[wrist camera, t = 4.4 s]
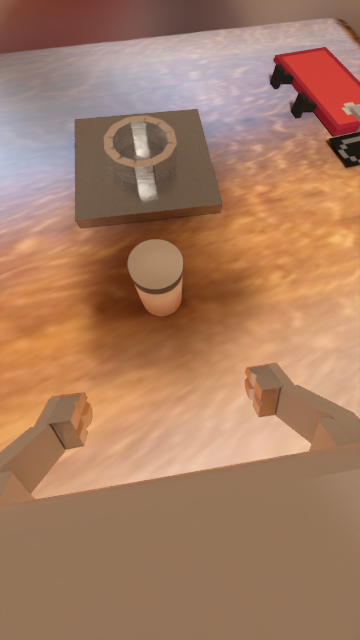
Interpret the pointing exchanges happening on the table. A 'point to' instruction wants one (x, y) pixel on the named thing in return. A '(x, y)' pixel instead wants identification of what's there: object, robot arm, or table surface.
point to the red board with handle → (324, 95)
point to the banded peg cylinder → (157, 275)
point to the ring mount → (142, 169)
